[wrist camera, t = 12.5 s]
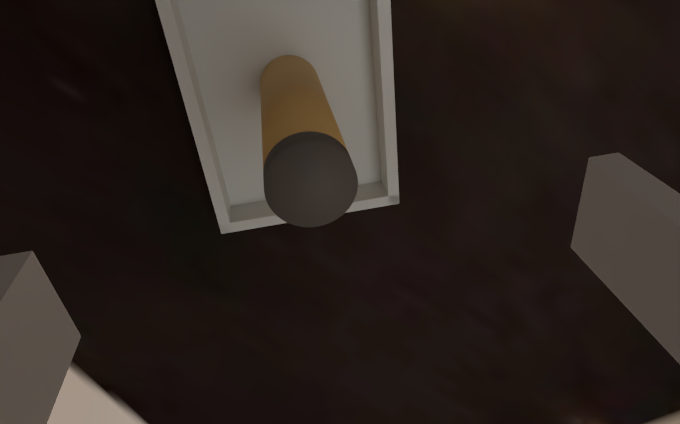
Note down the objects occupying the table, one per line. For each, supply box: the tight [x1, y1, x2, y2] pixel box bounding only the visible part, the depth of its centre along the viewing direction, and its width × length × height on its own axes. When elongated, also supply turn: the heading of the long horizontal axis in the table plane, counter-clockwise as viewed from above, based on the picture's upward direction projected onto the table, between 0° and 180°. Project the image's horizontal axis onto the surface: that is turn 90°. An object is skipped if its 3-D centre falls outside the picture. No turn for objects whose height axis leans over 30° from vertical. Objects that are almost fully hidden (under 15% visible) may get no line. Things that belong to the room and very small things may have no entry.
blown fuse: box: [260, 55, 358, 227], centre depth 20 cm, size 3×3×11 cm
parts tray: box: [155, 0, 399, 234], centre depth 24 cm, size 14×10×2 cm
